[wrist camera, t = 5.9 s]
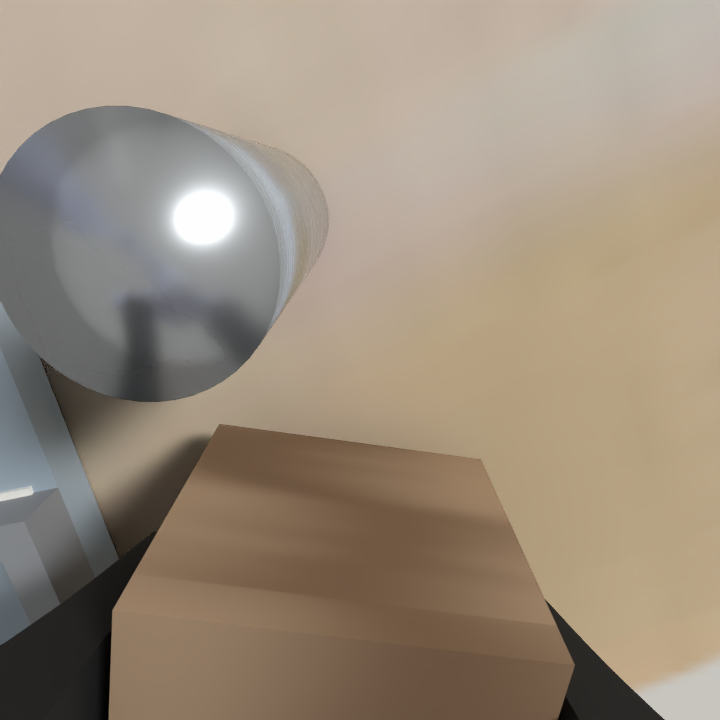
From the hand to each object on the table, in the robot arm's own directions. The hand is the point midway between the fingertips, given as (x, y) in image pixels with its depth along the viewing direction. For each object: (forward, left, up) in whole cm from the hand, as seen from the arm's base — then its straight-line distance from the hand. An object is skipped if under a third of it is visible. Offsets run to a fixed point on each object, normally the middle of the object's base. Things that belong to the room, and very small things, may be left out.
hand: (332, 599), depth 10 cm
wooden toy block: (0, 0, -2) cm, 2 cm away
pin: (-6, 0, -3) cm, 7 cm away
